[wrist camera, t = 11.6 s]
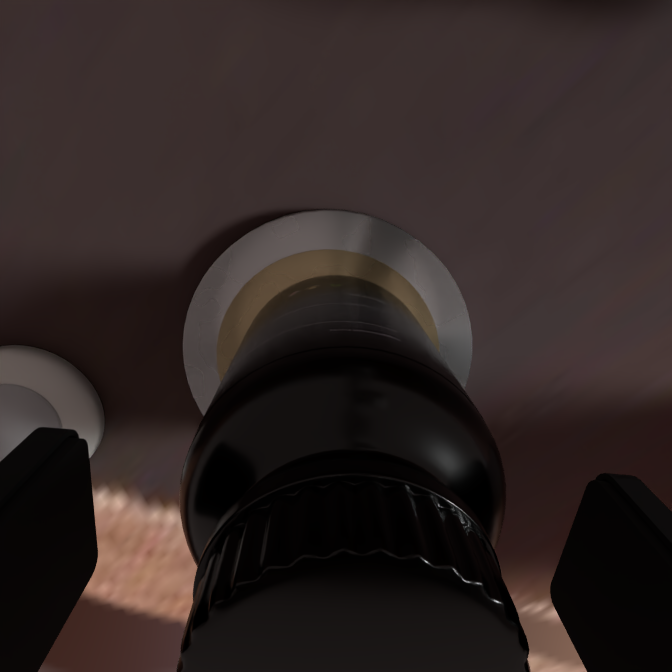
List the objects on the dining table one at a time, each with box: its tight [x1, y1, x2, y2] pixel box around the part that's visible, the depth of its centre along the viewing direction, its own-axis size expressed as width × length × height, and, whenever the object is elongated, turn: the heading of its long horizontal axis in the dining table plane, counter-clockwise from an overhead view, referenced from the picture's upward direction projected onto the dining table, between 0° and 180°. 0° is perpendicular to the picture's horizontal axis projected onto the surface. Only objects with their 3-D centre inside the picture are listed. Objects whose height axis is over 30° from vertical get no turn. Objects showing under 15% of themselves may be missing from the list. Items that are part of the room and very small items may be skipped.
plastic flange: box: [0, 345, 105, 461], centre depth 19 cm, size 6×6×1 cm
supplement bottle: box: [177, 275, 530, 672], centre depth 12 cm, size 7×7×12 cm
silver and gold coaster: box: [183, 209, 472, 416], centre depth 18 cm, size 11×11×1 cm
